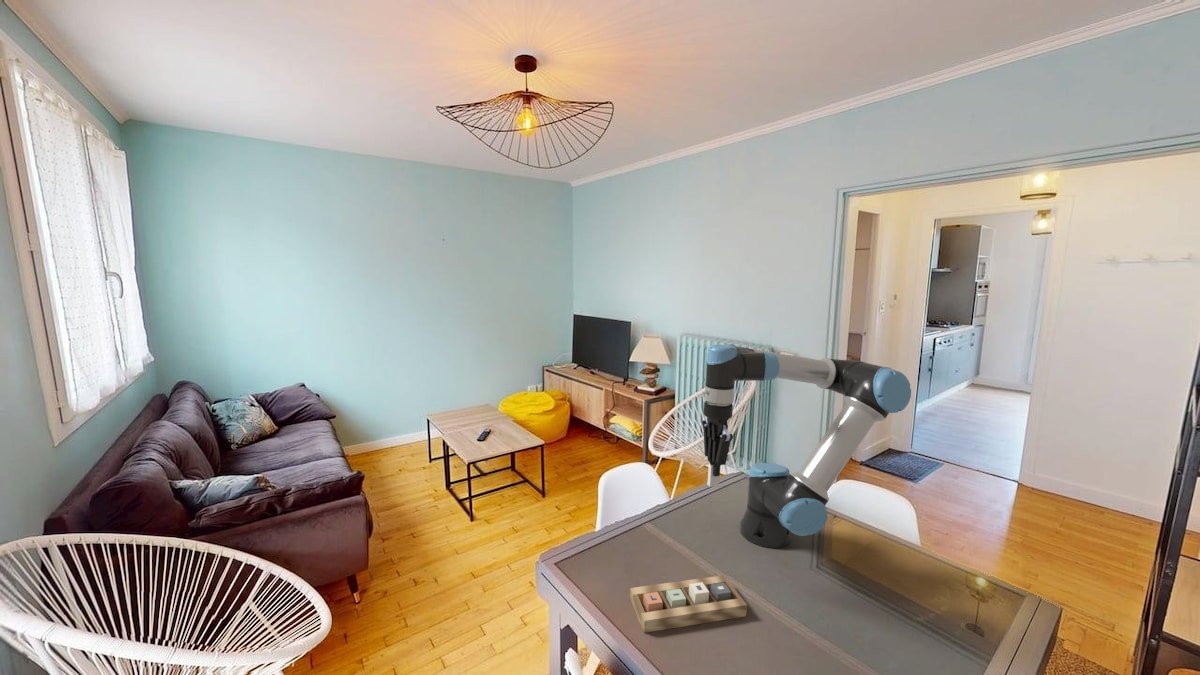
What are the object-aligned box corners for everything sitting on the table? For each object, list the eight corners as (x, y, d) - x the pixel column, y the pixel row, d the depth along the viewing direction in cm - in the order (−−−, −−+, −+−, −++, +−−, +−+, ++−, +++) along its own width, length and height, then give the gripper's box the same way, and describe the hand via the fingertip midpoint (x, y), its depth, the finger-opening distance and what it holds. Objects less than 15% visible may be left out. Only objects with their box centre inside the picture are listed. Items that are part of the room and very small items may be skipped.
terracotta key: (656, 603, 109) (657, 591, 109) (662, 614, 106) (662, 601, 105) (642, 605, 108) (643, 593, 108) (647, 616, 105) (648, 603, 104)
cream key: (701, 593, 112) (702, 581, 111) (708, 603, 108) (709, 591, 108) (688, 595, 111) (689, 583, 111) (694, 606, 107) (695, 593, 107)
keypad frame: (723, 585, 117) (724, 575, 117) (746, 616, 107) (746, 604, 106) (629, 599, 111) (630, 588, 111) (644, 632, 101) (644, 620, 100)
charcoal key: (722, 593, 113) (723, 582, 113) (730, 603, 110) (731, 591, 109) (710, 595, 112) (710, 583, 112) (716, 605, 109) (717, 593, 109)
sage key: (679, 600, 110) (680, 588, 110) (685, 610, 107) (686, 598, 107) (665, 602, 110) (666, 590, 109) (671, 612, 106) (672, 600, 106)
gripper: (695, 396, 124) (690, 476, 127) (717, 409, 112) (711, 497, 115) (719, 395, 126) (714, 474, 129) (744, 408, 114) (737, 495, 117)
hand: (713, 485), depth 122 cm, fingers closed
